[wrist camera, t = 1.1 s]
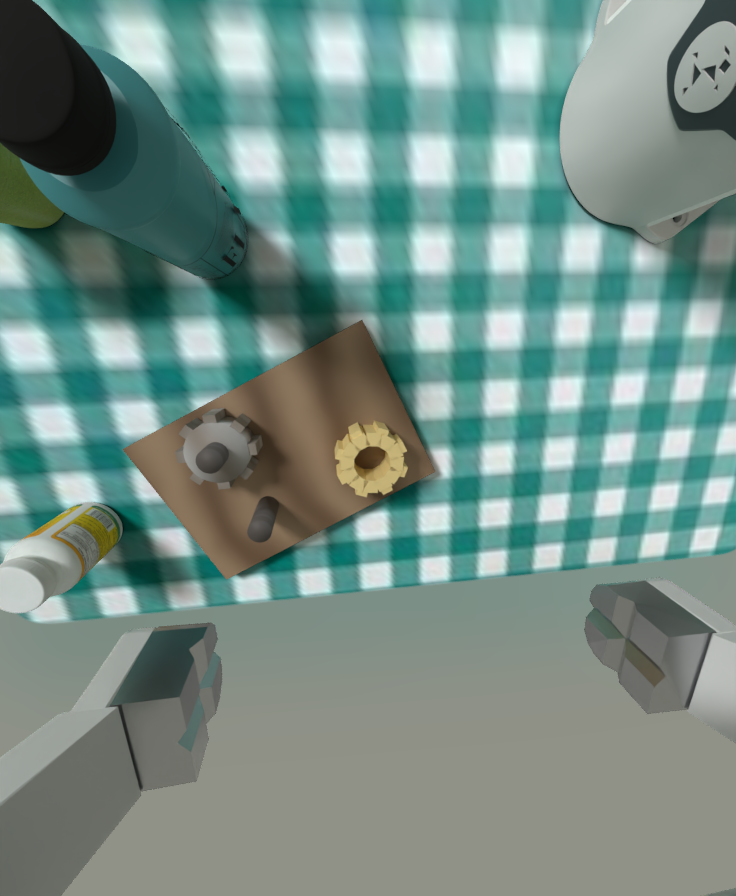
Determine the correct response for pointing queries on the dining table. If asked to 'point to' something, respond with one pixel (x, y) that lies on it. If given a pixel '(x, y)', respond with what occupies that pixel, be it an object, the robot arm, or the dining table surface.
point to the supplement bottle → (57, 555)
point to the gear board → (278, 452)
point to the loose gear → (380, 475)
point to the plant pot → (22, 196)
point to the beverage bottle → (109, 147)
